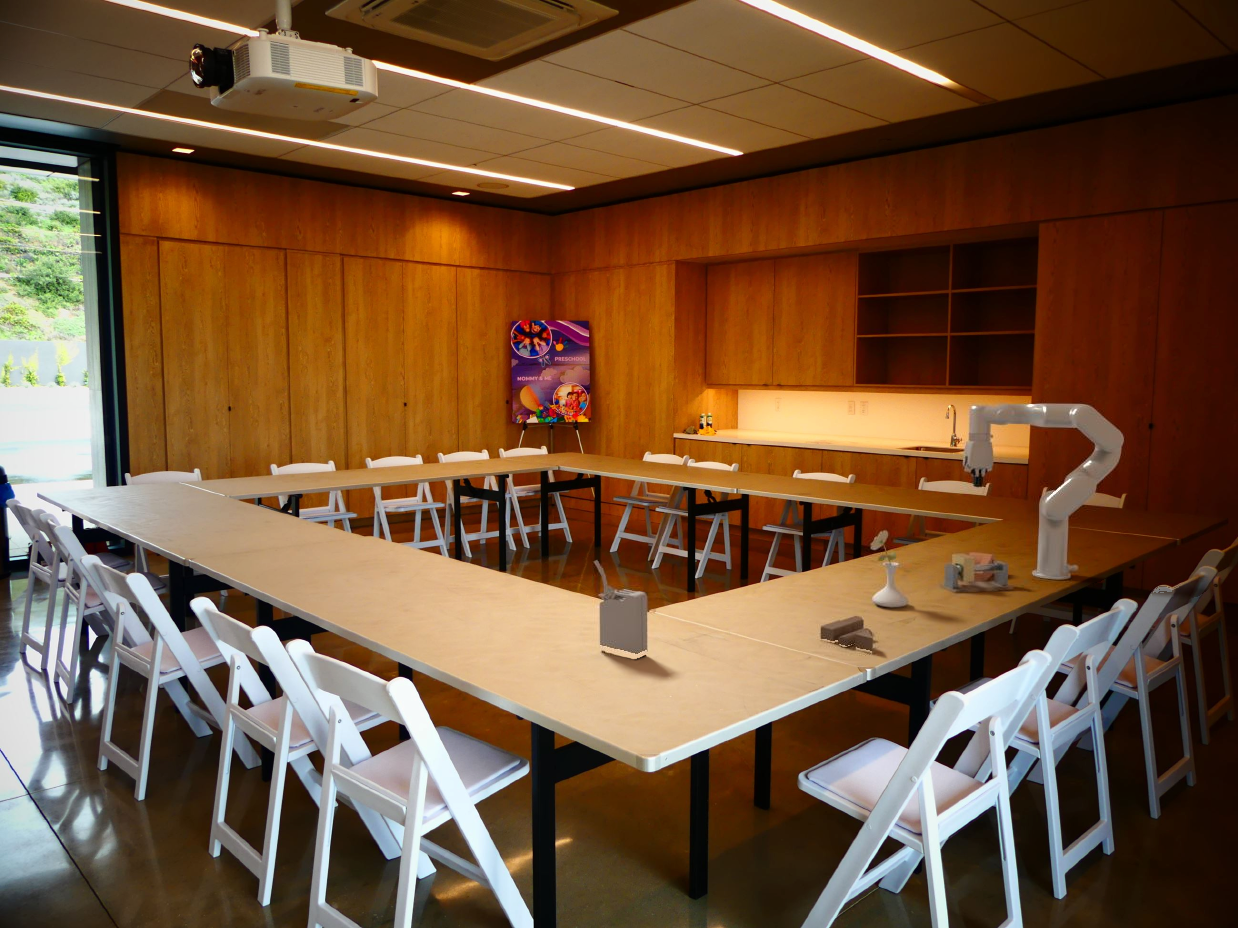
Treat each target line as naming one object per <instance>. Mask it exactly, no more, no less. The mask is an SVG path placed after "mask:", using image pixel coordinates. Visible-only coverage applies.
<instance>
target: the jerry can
mask: <svg viewBox="0 0 1238 928" xmlns="http://www.w3.org/2000/svg"><path fill="white" fill-rule="evenodd" d="M593 563H594V564H595V567H596V569H597V570H598V572H599V573H600V575H601V579H602V583H603V593H599V594H598V597H599V598H601V600H602V601H600V603H599V646H600V645H602V646H607V647H610V648H614V649H620V650H624V651H628V652H631V653H635V654H638V653H640V652H642V651H645V650H647V651H648V596H647V593H646V592H645V591H639V590H638V591H634V590H629V589H625V588H624V589H622V590H618V589H616V588H612V586H610V585H608V580H607V577H606V573H605V570H604V568H603V567H602V565H600V562H599V561H598V559H596V560H594V561H593Z"/></svg>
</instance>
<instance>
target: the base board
mask: <svg viewBox="0 0 1238 928" xmlns="http://www.w3.org/2000/svg"><path fill="white" fill-rule="evenodd" d="M938 586H939V587H940V588H942V589H945V590H946V591H949V592H952V593H954V594H962V593H963V594H964V593H981V591H983V592H997V591H998V590H1000V591H1012V590H1014V587H1013V586H1012V585H1011V586H1010V585H1008V586H1001V585H998V584H996V583H994V580H986V581H983V582H958V589H951V588H949V587H947V586H945V583H939V585H938ZM998 592H999V591H998Z"/></svg>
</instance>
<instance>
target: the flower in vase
mask: <svg viewBox="0 0 1238 928" xmlns="http://www.w3.org/2000/svg"><path fill="white" fill-rule="evenodd" d="M888 537H889V531H887V530H886V529H884V530H883V531H882V530H881V531H879V533H878V535H877V536H875V537H874V539H873V541H872V542H871V543H870V550H873V551H877V550H878V549H879V548H880V547H882V546H883V548H884V551H885V554H882V555H880V556H879V558H878V559H877V562H883V561H885V560H886V559H887V560H888V561H886V562H883V563H882V564H883V566H884V567H885V570H886V577H887V578H886V579H887V581H886V585H885V587H883V588H882V589H881V590H878V591H877V592H876V593H875V594H874V595H873V596H872V599H871V601H872V602H873V603H874V604H875V605H878V606H881V607H885V608H886V607H887V608H902V607H904V606H908V604H909V603H910V601H909V598H908V597H907V596H906V595H905V594H904V593H903V592H901V590H899V588H897V587H896V584H895V577H896V576H895V575H896V571H897V569H898V567H899V566H900V564H899V562H895V561H894V562H893V560H895V559H896V558H897V552H896V551H893V552H892V553H890V554H888V550H887V549H886V546H885V542H886V541H887V539H888ZM891 561H892V562H891Z"/></svg>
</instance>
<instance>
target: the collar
mask: <svg viewBox="0 0 1238 928" xmlns="http://www.w3.org/2000/svg"><path fill="white" fill-rule="evenodd" d="M951 556H952V557H951V558H952V559H951V560H952V561H951V564H953V565H955V566H960V565H961V573H958V581H961V583H965V582H970V581H974V565H975V558H974V557H971V556H969V554H965V553H952V554H951Z"/></svg>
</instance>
